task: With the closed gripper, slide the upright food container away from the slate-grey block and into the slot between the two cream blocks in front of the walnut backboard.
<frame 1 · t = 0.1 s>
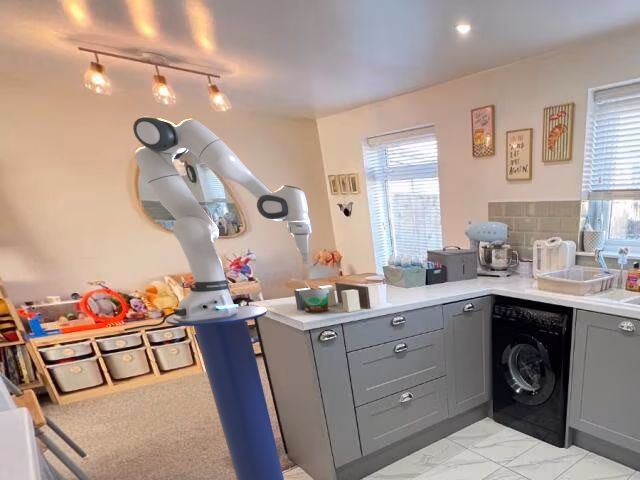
hand: (305, 263, 177), 21 cm above the countertop, tool pointing down, fingers open, 8 cm apart
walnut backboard: (353, 305, 200), on the countertop
food container: (318, 312, 186), on the countertop
cream block back: (328, 305, 199), on the countertop
grey block: (306, 308, 191), on the countertop
cream block front: (352, 310, 189), on the countertop
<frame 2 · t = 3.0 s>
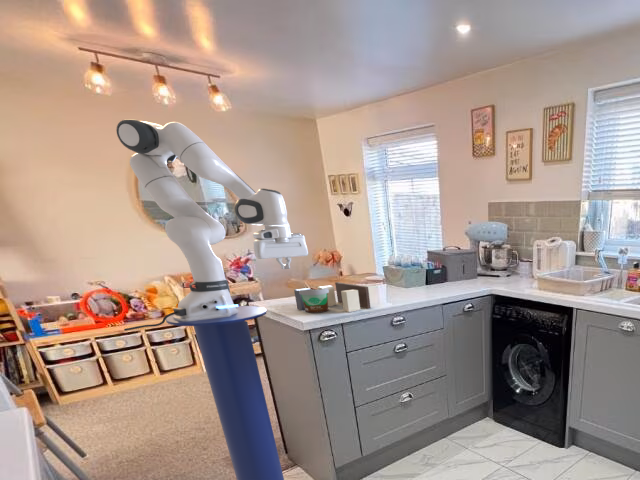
hand: (285, 268, 170), 20 cm above the countertop, tool pointing down, fingers closed
nothing on the countertop moved.
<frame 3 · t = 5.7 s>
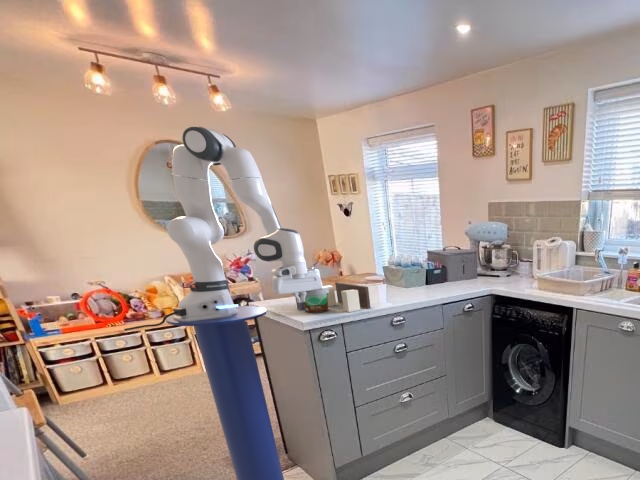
hand: (301, 302, 178), 5 cm above the countertop, tool pointing down, fingers closed
food container: (318, 312, 186), on the countertop, touching gripper
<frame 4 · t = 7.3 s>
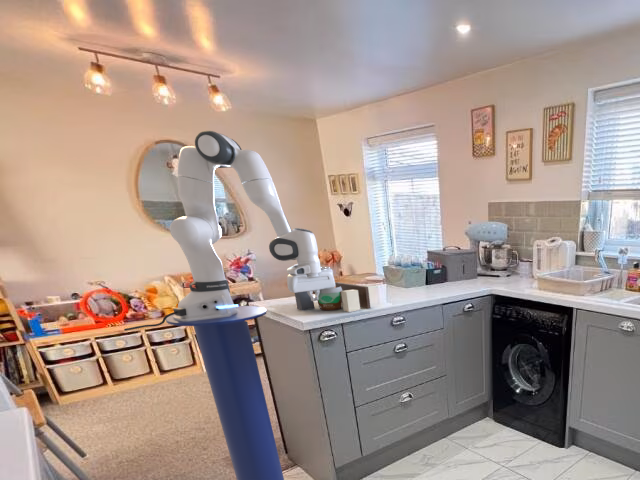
hand: (315, 300, 183), 5 cm above the countertop, tool pointing down, fingers closed
food container: (330, 310, 190), on the countertop, touching gripper
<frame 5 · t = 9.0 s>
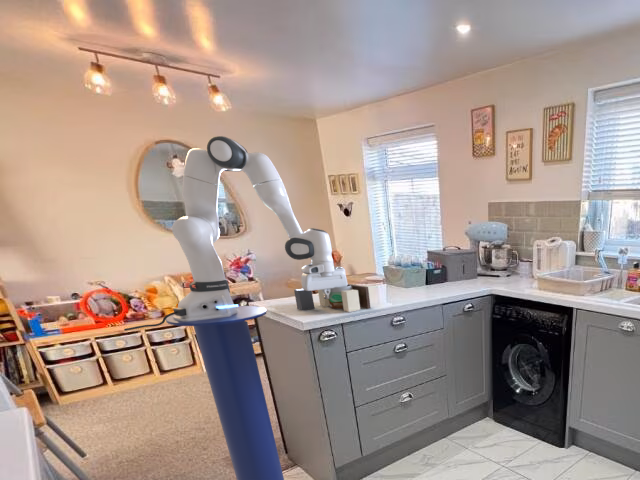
hand: (327, 298, 188), 5 cm above the countertop, tool pointing down, fingers closed
food container: (341, 308, 193), on the countertop, touching gripper, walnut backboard
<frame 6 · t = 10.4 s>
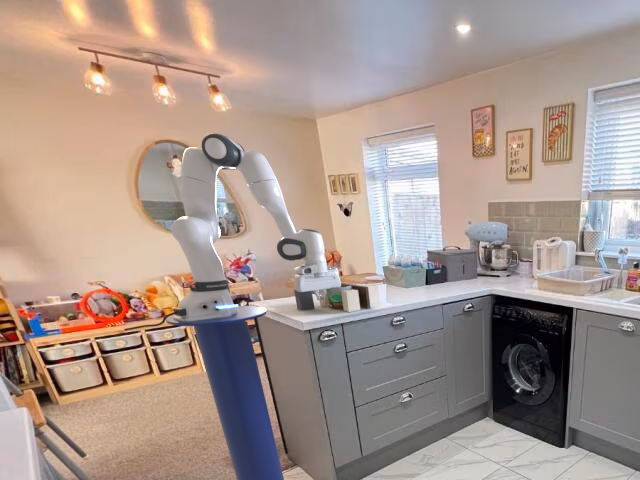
hand: (321, 299, 186), 5 cm above the countertop, tool pointing down, fingers closed
food container: (341, 308, 193), on the countertop
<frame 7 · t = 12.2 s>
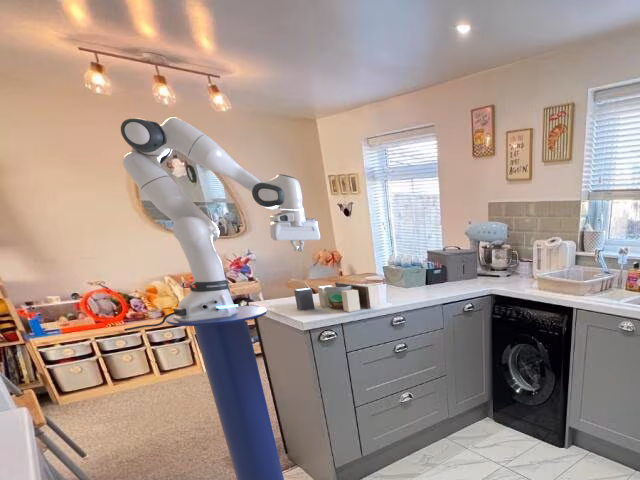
hand: (298, 251, 180), 26 cm above the countertop, tool pointing down, fingers closed
nothing on the countertop moved.
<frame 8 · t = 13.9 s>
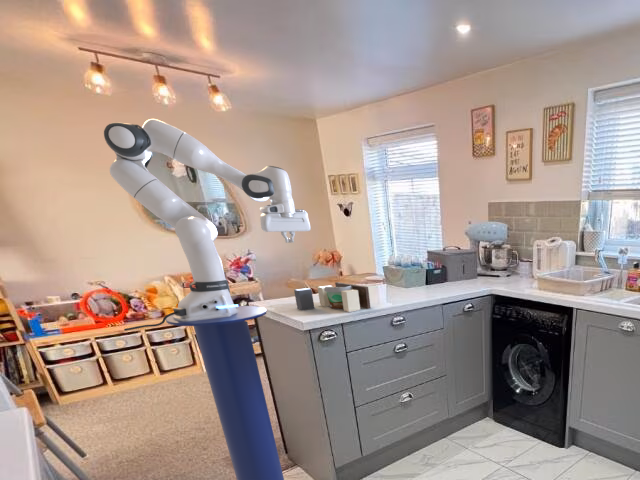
hand: (289, 242, 182), 29 cm above the countertop, tool pointing down, fingers closed
nothing on the countertop moved.
at the end: food container inside the target area (1.3 cm from its centre), on the countertop; food container tilted 0°; food container moved 10.9 cm from its start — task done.
